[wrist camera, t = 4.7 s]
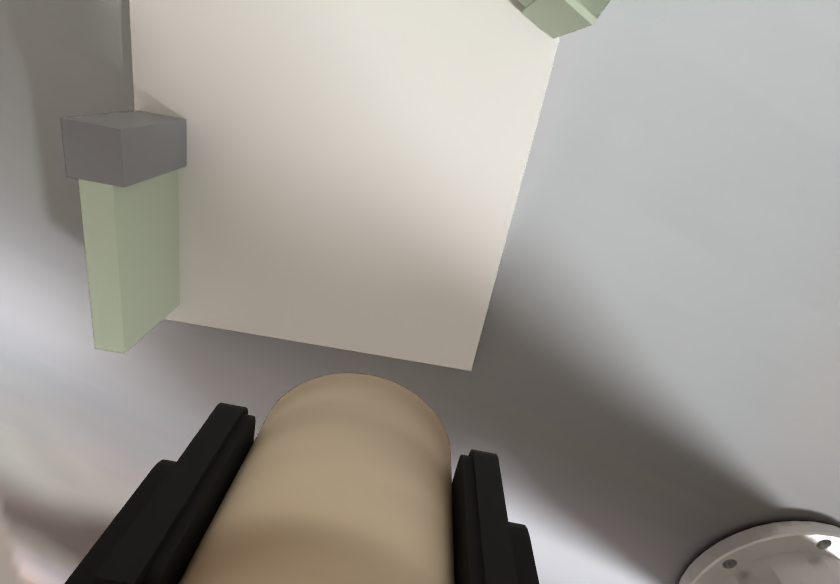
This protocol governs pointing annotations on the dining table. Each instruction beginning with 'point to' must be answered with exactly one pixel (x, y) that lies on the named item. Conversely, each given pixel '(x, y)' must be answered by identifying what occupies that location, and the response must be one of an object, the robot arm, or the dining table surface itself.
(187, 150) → the gate frame
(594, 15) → the gate
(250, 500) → the roller
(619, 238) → the dining table surface
